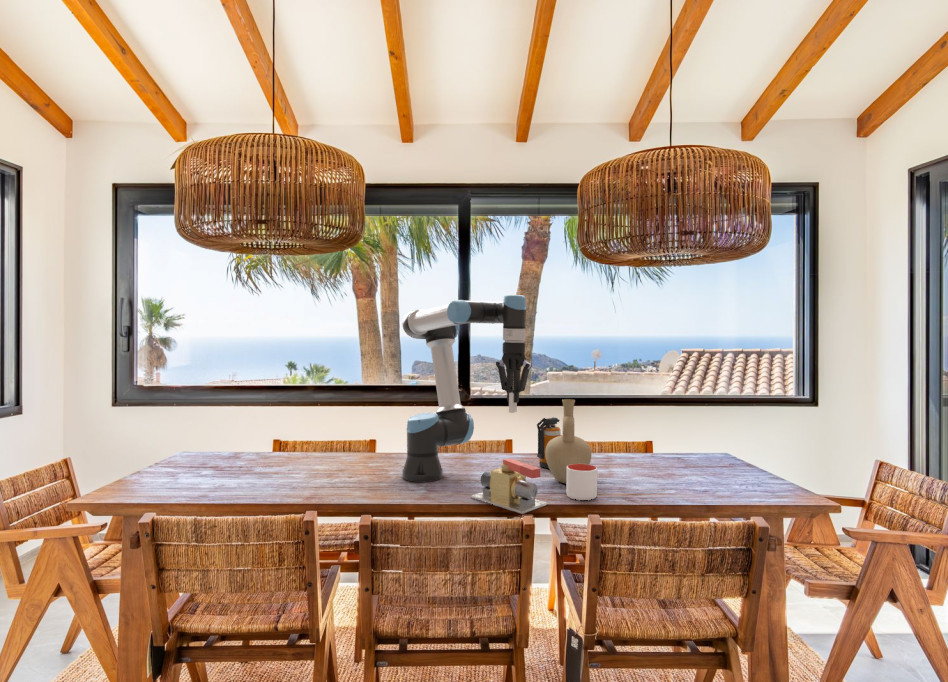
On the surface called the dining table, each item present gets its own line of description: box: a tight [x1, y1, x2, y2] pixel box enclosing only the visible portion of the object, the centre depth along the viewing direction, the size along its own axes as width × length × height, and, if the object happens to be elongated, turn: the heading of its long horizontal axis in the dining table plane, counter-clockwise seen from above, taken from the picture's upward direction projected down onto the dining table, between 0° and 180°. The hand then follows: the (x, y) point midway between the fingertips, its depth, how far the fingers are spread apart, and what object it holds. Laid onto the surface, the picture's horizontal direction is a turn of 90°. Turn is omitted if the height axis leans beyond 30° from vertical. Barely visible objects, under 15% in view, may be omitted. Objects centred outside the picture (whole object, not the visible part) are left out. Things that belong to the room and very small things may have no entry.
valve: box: [470, 467, 548, 515], centre depth 178 cm, size 22×12×10 cm, turn 45°
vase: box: [545, 398, 592, 484], centre depth 201 cm, size 17×17×30 cm
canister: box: [536, 416, 563, 469], centre depth 222 cm, size 9×11×20 cm
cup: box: [565, 464, 598, 501], centre depth 183 cm, size 10×10×10 cm
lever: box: [500, 458, 541, 479], centre depth 173 cm, size 17×4×4 cm, turn 32°
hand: (512, 412), depth 184 cm, fingers closed
